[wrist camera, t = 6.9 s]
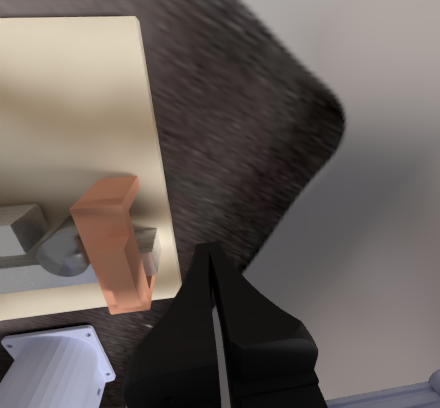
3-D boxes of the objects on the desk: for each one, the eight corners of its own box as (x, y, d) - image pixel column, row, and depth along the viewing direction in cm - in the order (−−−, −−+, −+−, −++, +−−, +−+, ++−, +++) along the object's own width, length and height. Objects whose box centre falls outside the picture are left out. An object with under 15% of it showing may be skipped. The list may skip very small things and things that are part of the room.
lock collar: (157, 265, 18) (146, 326, 13) (126, 268, 18) (105, 332, 13) (137, 175, 15) (114, 216, 10) (98, 178, 14) (56, 222, 10)
